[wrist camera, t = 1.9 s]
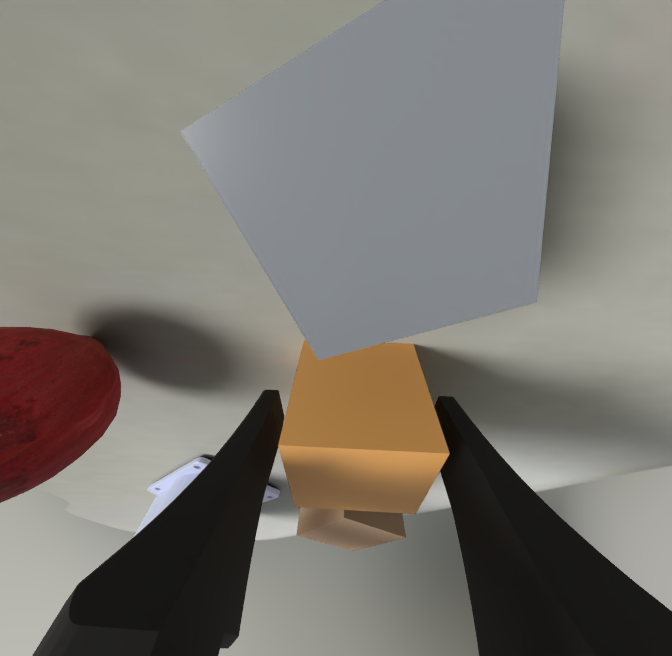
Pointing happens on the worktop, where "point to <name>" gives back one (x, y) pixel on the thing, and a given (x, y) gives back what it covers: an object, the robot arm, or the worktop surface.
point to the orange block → (361, 431)
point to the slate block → (396, 168)
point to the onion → (51, 403)
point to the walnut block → (350, 527)
